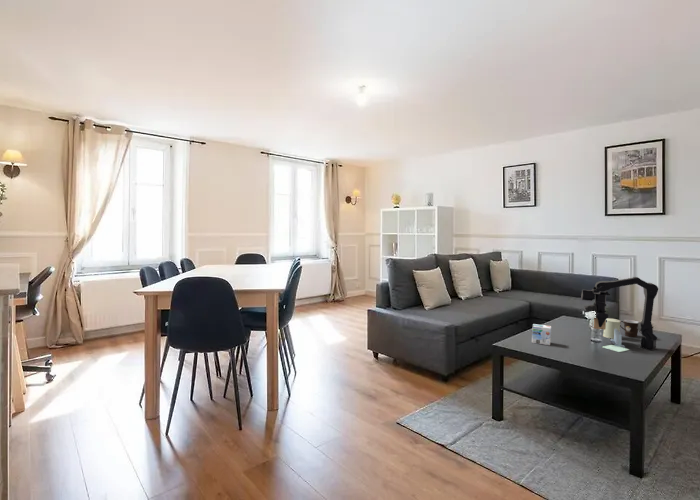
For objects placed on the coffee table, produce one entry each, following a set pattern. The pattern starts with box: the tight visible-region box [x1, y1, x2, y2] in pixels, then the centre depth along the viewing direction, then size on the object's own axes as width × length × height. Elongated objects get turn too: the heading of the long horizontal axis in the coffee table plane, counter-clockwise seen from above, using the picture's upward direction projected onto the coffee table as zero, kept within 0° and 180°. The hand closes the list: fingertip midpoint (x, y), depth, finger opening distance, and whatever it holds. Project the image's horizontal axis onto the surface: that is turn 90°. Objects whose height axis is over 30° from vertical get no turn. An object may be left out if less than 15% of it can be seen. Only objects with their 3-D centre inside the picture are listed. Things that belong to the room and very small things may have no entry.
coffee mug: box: [620, 319, 639, 339], centre depth 259 cm, size 12×9×10 cm
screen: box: [610, 329, 626, 348], centre depth 240 cm, size 14×5×8 cm, turn 155°
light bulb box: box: [531, 323, 552, 346], centre depth 242 cm, size 11×7×11 cm, turn 62°
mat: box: [602, 344, 630, 353], centre depth 231 cm, size 10×10×1 cm
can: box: [602, 317, 621, 340], centre depth 255 cm, size 9×9×12 cm
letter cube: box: [593, 318, 606, 330], centre depth 242 cm, size 6×6×6 cm
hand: (599, 325), depth 242 cm, fingers closed on letter cube, 6 cm apart
